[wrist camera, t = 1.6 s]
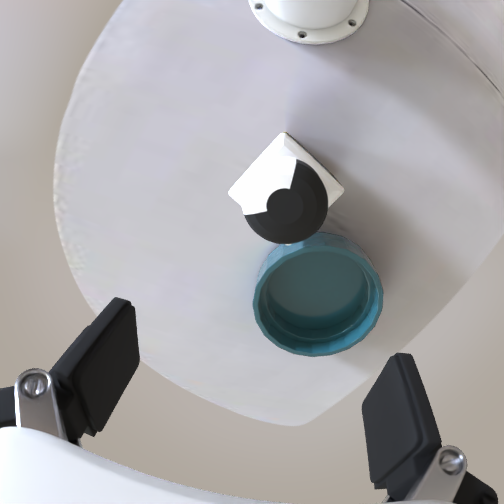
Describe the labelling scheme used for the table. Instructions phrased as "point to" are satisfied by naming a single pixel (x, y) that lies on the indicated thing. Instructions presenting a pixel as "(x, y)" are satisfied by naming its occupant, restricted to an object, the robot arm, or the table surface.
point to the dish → (317, 296)
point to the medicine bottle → (286, 192)
